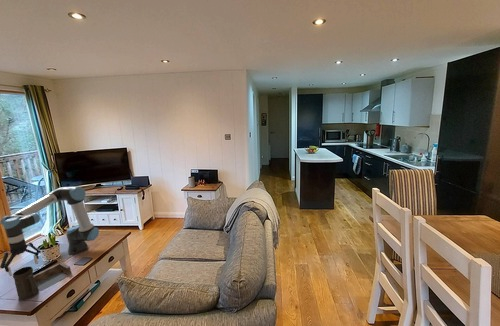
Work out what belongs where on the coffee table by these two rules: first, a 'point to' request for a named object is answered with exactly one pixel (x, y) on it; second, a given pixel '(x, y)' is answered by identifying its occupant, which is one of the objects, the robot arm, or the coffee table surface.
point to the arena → (52, 271)
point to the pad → (51, 281)
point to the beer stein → (25, 283)
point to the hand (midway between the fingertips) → (24, 269)
